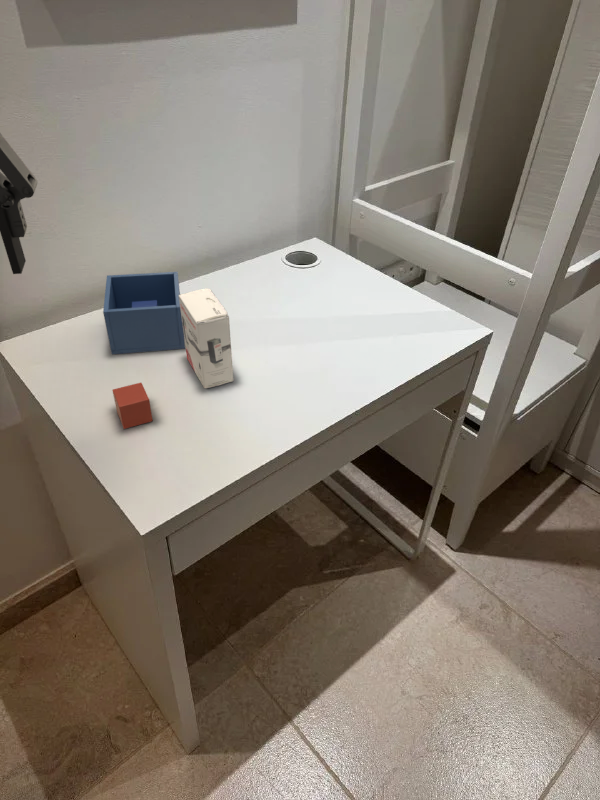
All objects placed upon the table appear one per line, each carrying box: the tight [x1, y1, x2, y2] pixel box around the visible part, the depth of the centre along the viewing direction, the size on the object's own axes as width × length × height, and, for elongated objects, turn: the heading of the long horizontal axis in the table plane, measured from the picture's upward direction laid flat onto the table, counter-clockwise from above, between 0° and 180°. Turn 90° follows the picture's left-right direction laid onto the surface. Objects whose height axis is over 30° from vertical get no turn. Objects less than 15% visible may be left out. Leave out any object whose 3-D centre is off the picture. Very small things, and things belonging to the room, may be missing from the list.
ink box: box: [179, 287, 234, 389], centre depth 85 cm, size 9×5×12 cm, turn 27°
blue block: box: [132, 300, 158, 308], centre depth 94 cm, size 4×4×4 cm
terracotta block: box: [111, 382, 153, 430], centre depth 79 cm, size 4×4×4 cm
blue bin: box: [102, 271, 186, 355], centre depth 94 cm, size 11×11×8 cm
